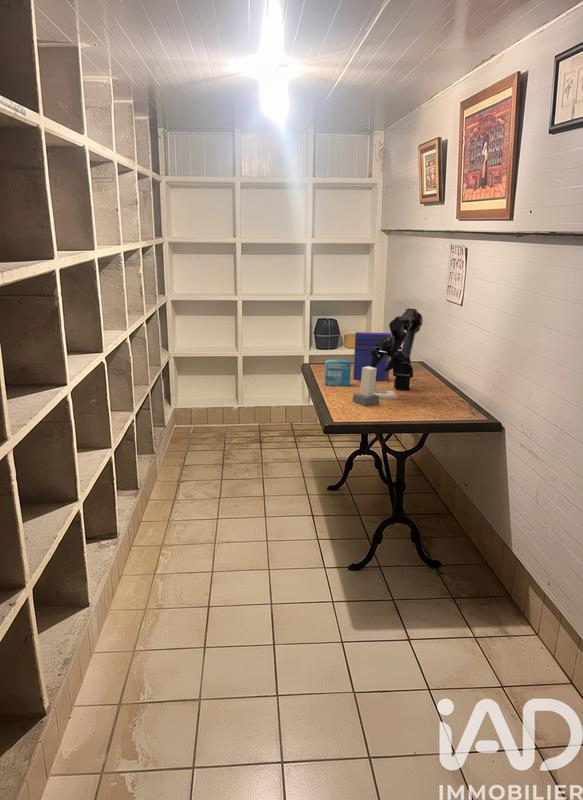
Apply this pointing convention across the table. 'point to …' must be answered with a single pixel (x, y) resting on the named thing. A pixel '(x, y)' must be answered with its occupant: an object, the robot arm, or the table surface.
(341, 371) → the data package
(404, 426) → the table surface
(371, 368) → the cream block
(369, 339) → the cereal box
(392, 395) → the tile
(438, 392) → the table surface
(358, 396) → the charcoal slab
